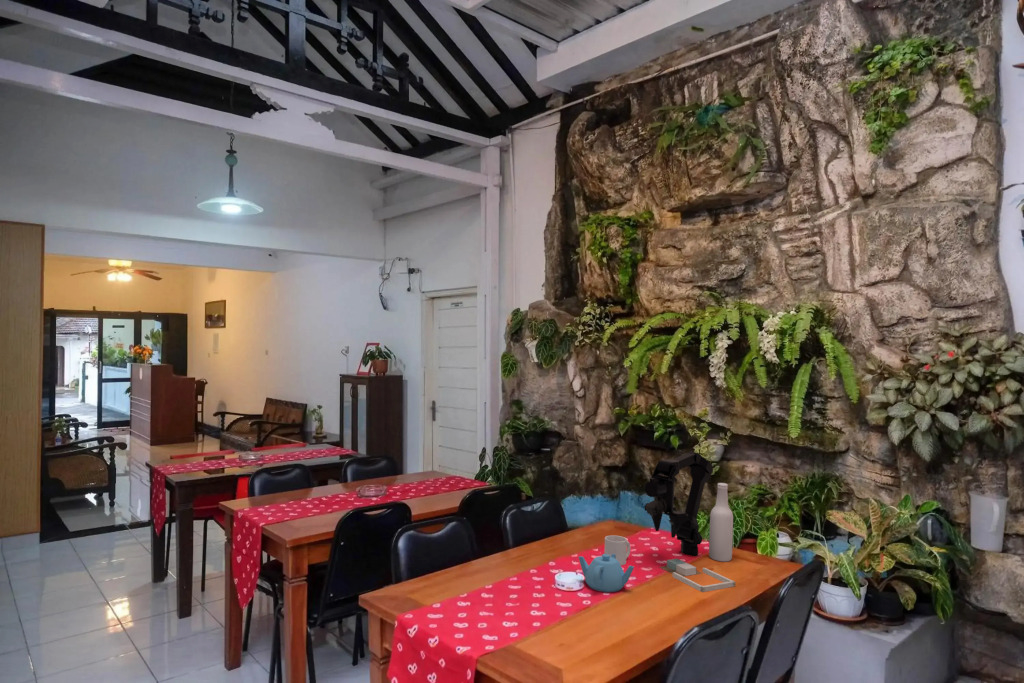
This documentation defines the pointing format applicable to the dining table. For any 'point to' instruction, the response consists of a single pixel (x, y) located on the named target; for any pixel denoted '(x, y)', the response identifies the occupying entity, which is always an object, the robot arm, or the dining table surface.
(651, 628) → the dining table surface
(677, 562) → the sage green block
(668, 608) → the dining table surface
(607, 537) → the mug
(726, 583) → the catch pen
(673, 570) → the board
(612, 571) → the teapot
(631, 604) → the dining table surface
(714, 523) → the alcohol
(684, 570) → the white tile
